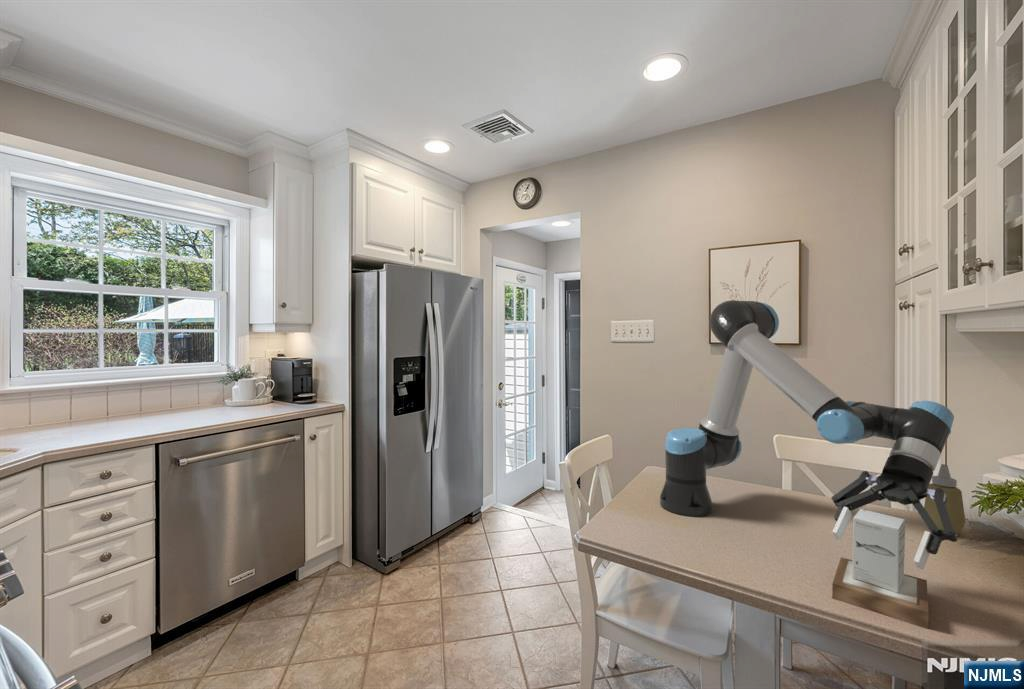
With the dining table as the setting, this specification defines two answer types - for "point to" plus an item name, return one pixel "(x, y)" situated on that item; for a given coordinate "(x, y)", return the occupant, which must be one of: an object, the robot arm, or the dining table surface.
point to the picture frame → (883, 595)
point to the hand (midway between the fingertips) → (874, 549)
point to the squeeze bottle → (953, 500)
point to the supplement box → (878, 549)
